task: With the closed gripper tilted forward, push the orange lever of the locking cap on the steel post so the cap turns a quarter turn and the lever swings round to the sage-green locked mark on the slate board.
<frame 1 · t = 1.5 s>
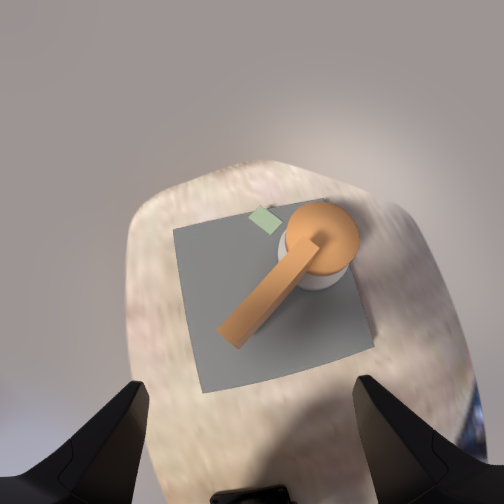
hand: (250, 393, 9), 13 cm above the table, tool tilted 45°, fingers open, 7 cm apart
lever cap: (293, 269, 18), point 6 cm above the table, hinge at 0.0°
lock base: (269, 292, 23), on the table
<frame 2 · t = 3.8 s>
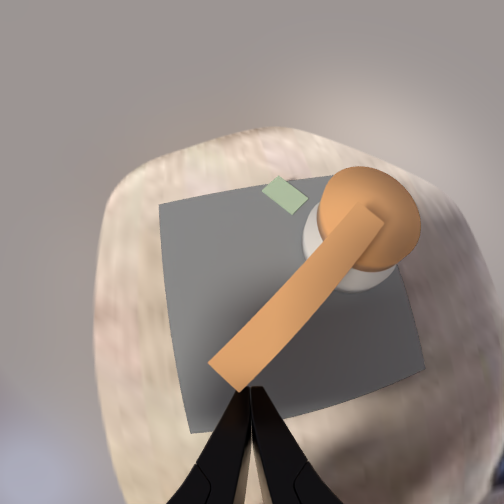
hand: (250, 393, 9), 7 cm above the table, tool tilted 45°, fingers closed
lever cap: (334, 260, 11), point 6 cm above the table, hinge at 0.0°, touching gripper
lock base: (288, 294, 17), on the table
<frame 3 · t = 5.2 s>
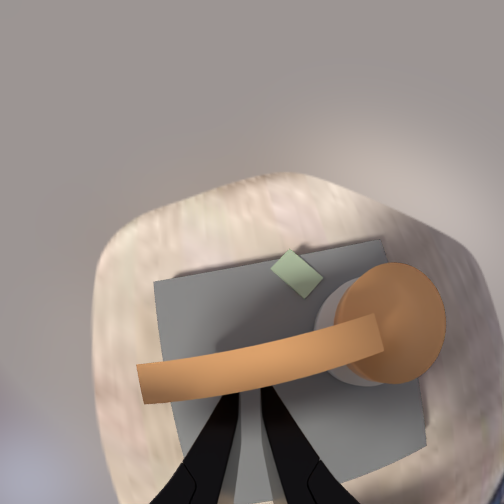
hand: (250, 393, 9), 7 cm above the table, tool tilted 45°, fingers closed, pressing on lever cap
lever cap: (325, 347, 10), point 6 cm above the table, hinge at -33.8°, touching gripper
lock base: (296, 380, 15), on the table
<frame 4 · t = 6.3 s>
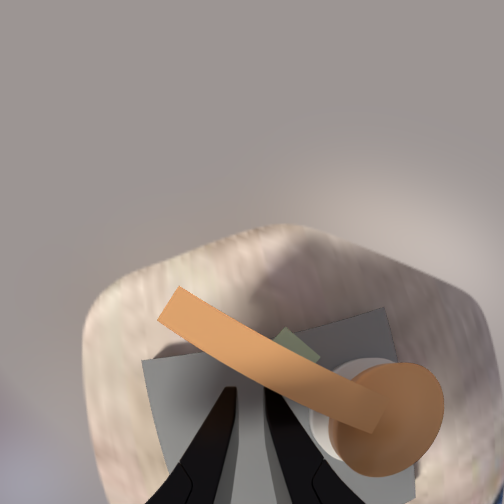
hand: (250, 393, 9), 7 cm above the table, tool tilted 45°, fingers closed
lever cap: (329, 394, 9), point 6 cm above the table, hinge at -77.2°, touching gripper
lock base: (291, 449, 13), on the table
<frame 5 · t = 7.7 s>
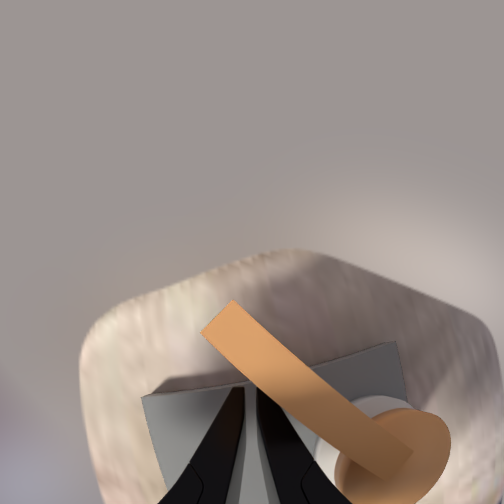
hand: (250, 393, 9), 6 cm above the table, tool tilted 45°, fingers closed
lever cap: (350, 432, 8), point 6 cm above the table, hinge at -90.0°, touching gripper
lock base: (294, 480, 12), on the table
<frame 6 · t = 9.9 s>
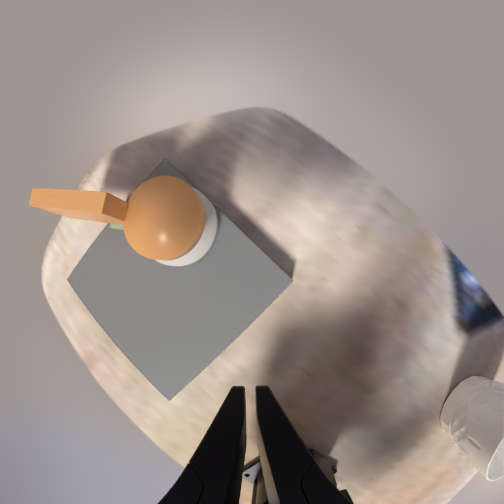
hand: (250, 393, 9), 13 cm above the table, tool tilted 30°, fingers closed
lever cap: (112, 210, 16), point 6 cm above the table, hinge at -90.1°
white cup: (463, 404, 19), on the table
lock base: (167, 281, 22), on the table
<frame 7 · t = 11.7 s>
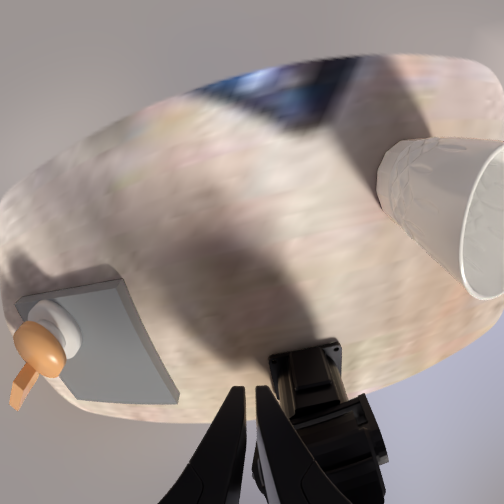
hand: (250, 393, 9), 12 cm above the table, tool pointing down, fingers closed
lever cap: (29, 371, 17), point 6 cm above the table, hinge at -90.1°
white cup: (412, 182, 18), on the table
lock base: (94, 348, 23), on the table
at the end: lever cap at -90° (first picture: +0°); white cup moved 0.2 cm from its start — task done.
